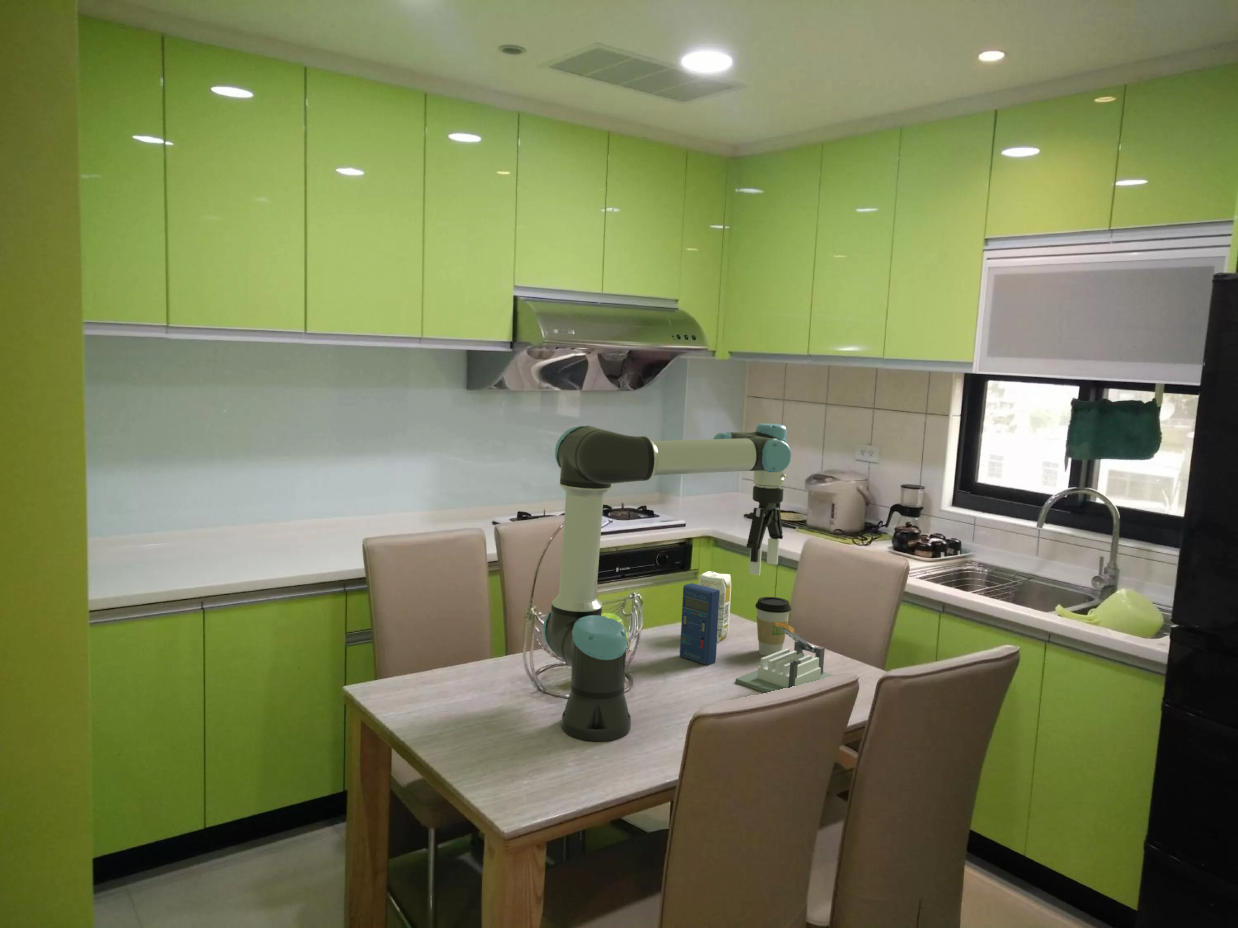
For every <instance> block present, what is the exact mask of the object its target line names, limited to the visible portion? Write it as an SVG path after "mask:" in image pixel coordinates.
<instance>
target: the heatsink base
mask: <svg viewBox="0 0 1238 928" xmlns="http://www.w3.org/2000/svg"><path fill="white" fill-rule="evenodd" d="M793 647H794V648H793V651H791V649H790V648H785V649H784V648H783V649H782V651H779V652H776V653H774V654H771V655H768V656H763V657H761V658H760V665H759V666H757V669H756V670H753V671H751V672H749V673H746V674H744V675H741V676H738V677H736V678H735V683H737V684H739V685H742V686H745V687H748V688H751V689H753V690H756V691H760V692H763V693H765V694H767V693H766V692H771V691H775V690H780V689H783V688H790V687H792V686H798V685H801V684H804V683H809V682H813V681H816V680H820V679H824V678H826V677H830V676H834V675H835V674H832V673H830V672H826V671H824V664H825V649H826V648H825V647H824V646H816V647H817V648H816V653H814V654H815V657H813V658H812V655H810V654H807V655H805V653H804V652H803V651H804V650H802V649H801V645H800V644H798V643H797V642H796V641H795V640H794V645H793Z"/></svg>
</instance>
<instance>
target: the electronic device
mask: <svg viewBox="0 0 1238 928" xmlns="http://www.w3.org/2000/svg"><path fill="white" fill-rule="evenodd" d="M719 596H720V591H719V590H717V589H713V588H709V587H705V586H701V585H698V583H697V584H696V583H693V582H691V583H687V584H684V585H683V587H682V606H681V607H682V608H681V621H680V622H681V623H680V624H681V625H680V645H679V657H681V658H684V659H688V660H691V661H694V662H697V663H700V664H703V665H707V666H709V665H711V664H715V663H716V660H717V647H718V646H717V644H718V642H717V625H718V607H719Z"/></svg>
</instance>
